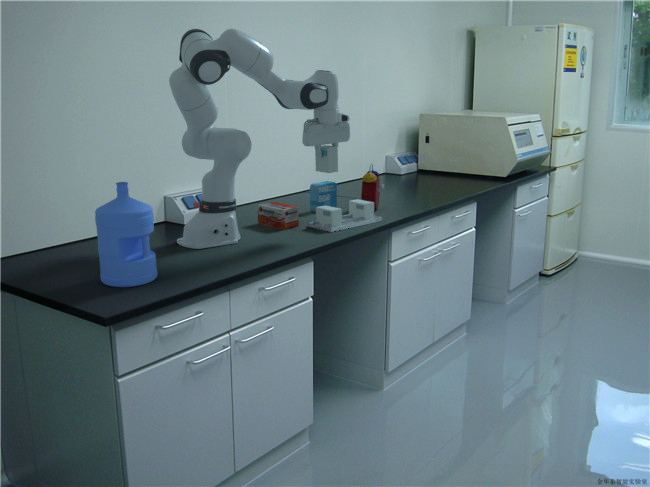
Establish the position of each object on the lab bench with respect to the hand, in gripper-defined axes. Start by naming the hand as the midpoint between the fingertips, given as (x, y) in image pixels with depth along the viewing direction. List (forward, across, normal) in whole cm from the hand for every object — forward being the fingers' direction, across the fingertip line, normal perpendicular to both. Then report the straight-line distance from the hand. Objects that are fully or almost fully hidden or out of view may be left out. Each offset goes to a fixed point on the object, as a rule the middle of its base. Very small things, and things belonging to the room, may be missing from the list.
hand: (326, 156), depth 237 cm
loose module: (+5, 0, 0) cm, 5 cm away
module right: (+27, +23, +5) cm, 36 cm away
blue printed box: (+29, +24, +29) cm, 47 cm away
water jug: (+26, -81, -5) cm, 85 cm away
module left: (+27, +5, +4) cm, 27 cm away
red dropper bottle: (+29, +40, +15) cm, 52 cm away
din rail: (+28, +14, +5) cm, 32 cm away
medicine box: (+28, -7, +20) cm, 36 cm away
